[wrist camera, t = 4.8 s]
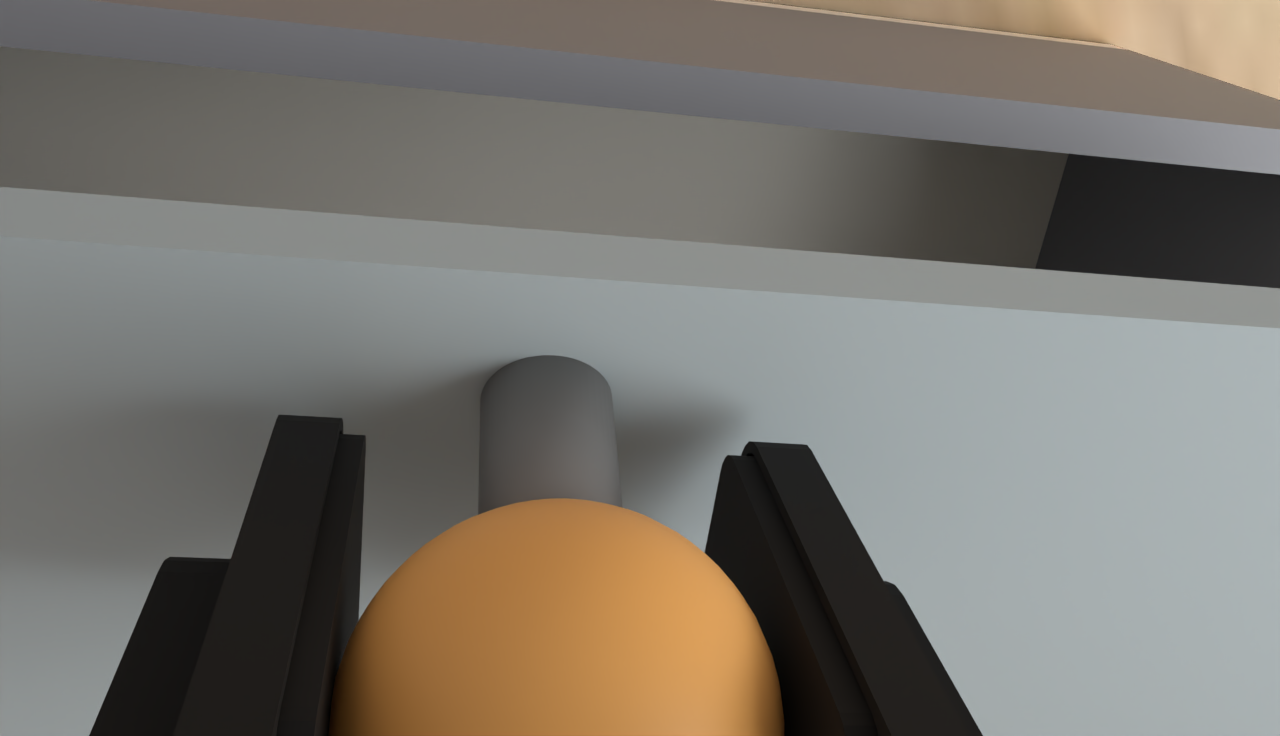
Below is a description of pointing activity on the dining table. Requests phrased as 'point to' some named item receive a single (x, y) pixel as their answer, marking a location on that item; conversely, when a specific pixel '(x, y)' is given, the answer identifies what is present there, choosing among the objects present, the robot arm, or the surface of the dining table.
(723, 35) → the grey rectangular box
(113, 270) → the lid
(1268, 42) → the dining table surface
